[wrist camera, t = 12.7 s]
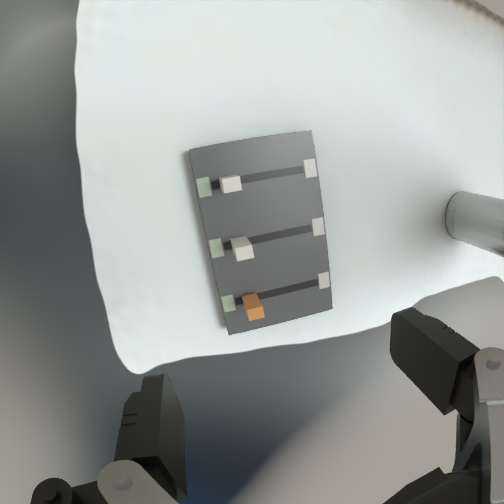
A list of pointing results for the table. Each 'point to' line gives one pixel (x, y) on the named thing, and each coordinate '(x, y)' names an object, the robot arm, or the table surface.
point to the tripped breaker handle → (253, 307)
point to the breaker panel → (264, 227)
